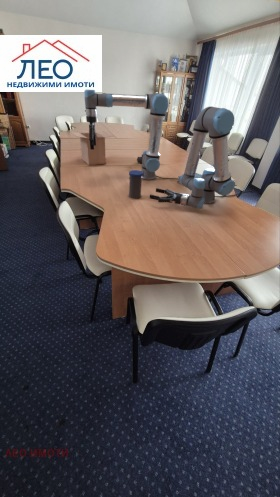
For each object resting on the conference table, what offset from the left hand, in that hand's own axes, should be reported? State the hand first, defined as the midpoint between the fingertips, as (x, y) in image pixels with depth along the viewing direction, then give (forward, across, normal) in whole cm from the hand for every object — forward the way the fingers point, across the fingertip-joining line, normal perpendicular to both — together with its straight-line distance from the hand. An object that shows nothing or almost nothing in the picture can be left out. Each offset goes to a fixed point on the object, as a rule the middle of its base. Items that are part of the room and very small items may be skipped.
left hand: (93, 147), depth 172 cm
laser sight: (+28, -62, +49) cm, 83 cm away
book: (+28, -10, +86) cm, 91 cm away
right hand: (+21, +35, +45) cm, 61 cm away
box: (+27, -61, -9) cm, 68 cm away
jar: (+28, +27, +33) cm, 51 cm away
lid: (+10, +27, +33) cm, 44 cm away
